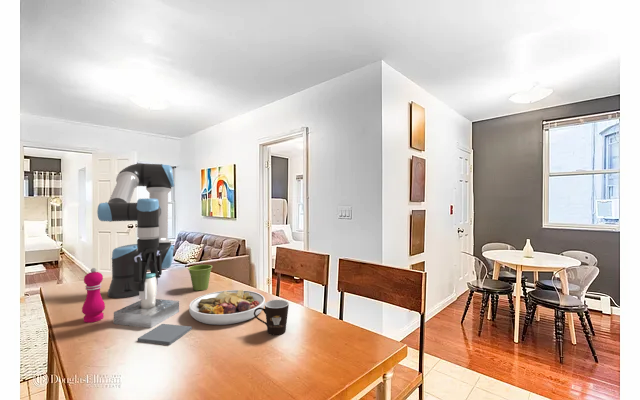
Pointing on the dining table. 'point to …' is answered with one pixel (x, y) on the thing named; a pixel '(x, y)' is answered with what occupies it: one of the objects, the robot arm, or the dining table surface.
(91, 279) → the pepper mill
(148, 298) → the plug
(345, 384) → the dining table surface
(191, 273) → the plant pot
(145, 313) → the housing
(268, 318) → the coffee mug
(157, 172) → the robot arm
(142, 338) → the pad
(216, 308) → the bowl
